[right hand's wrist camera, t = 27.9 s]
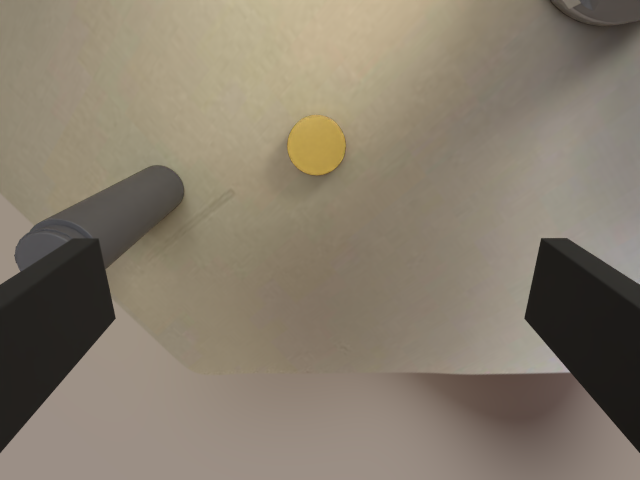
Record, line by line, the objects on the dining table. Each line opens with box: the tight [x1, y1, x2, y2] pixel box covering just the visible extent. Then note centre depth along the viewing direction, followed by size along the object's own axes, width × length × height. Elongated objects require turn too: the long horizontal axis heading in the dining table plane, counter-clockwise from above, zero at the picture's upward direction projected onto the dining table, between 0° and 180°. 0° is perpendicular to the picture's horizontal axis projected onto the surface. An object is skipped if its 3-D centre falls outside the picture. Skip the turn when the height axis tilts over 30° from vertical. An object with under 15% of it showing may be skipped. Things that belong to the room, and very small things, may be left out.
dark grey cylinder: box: [14, 165, 184, 271], centre depth 32 cm, size 5×5×18 cm
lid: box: [287, 115, 346, 175], centre depth 38 cm, size 5×5×2 cm
